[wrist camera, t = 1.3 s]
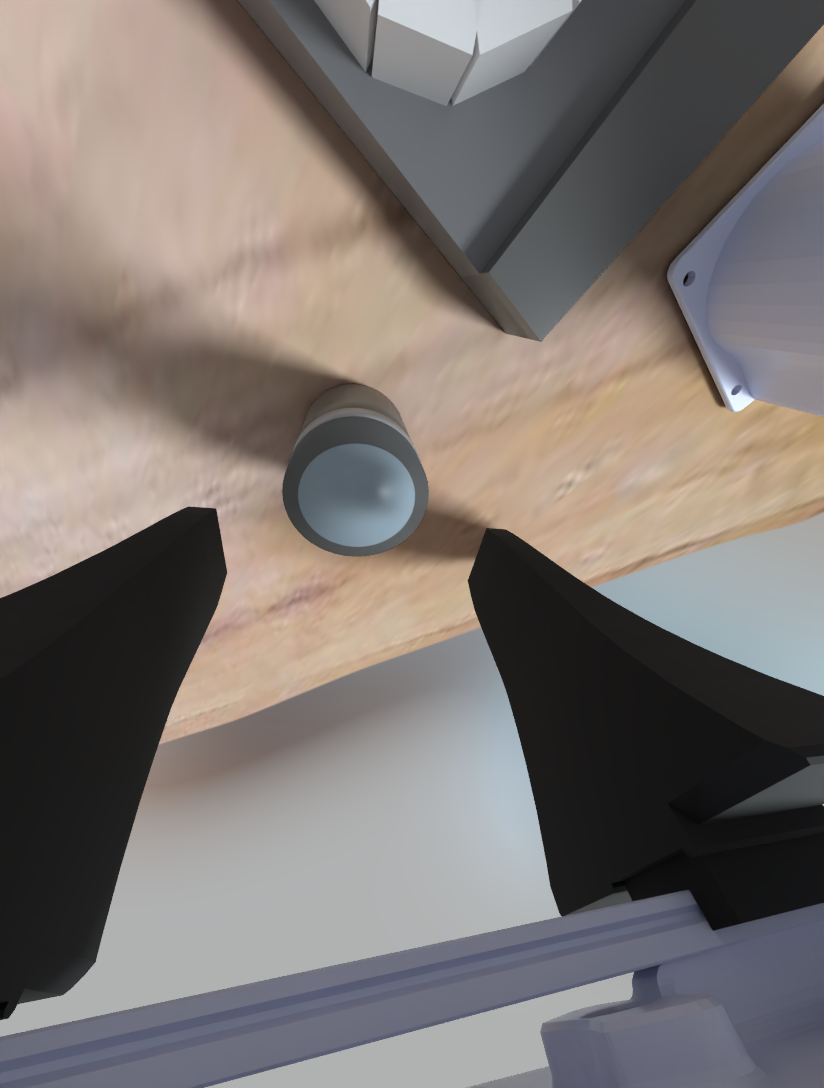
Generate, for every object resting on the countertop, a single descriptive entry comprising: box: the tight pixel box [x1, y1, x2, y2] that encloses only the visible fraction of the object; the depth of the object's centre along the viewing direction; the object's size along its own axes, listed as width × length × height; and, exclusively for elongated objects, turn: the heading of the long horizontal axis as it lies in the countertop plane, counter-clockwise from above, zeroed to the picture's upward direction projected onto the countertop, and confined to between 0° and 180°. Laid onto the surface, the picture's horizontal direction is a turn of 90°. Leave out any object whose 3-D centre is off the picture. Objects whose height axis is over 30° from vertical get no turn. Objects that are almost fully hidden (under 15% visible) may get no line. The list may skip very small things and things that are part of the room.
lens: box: [282, 384, 429, 556], centre depth 14 cm, size 5×5×7 cm
